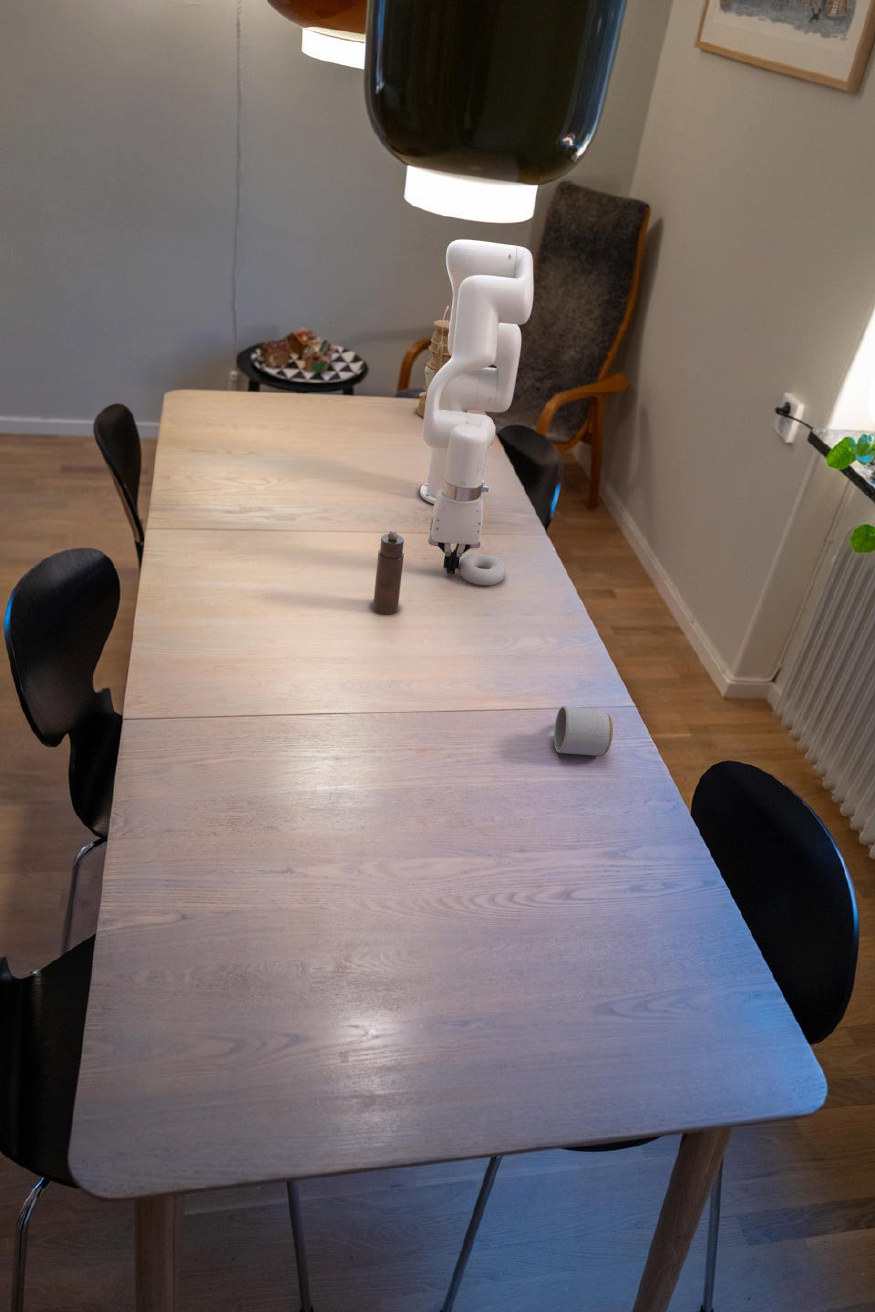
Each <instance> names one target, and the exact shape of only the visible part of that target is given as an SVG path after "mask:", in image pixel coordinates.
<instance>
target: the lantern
mask: <svg viewBox="0 0 875 1312" xmlns="http://www.w3.org/2000/svg"><path fill="white" fill-rule="evenodd" d="M449 309H450V306H449V305H447V306H446V308H445V310H444V314H443V317H442V319H437V320H435V321H433V327H434V328H435V330H434V331H433V333H432V338H431V339H430V341H431V344H430V345H428V350H429V351H431V353H432V357H431V358H430V359H429V361H427V362H426V365H425V368H424V373H423V381H425V384H426V385H425V386H426V388H425V387H423V389H424V390H425V391H421V392H419V393H418V396H419V400H418V407H417V408H416V413H417V414H418V415H419V416H420V417H421V418H424V412H425V403H426V396H427V392H428V388H429V386H430V384H431V381H432V380H433V378H434V377H435V375H436V374H437V372H438V371H439V370H440V369H441V368H442V367H443V366H444V365H445V364H446V363H447V362H448V361H449V360H450V359H451V355H450V354H449V351H448V334H449V326H450V320H449Z"/></svg>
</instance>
